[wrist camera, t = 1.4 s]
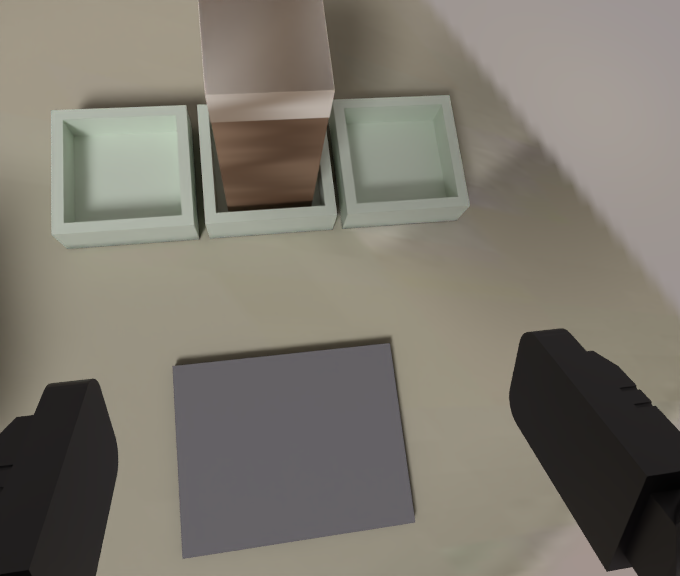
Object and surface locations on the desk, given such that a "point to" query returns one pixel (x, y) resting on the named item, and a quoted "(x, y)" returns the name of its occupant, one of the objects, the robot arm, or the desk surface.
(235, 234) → the tray
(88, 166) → the tray
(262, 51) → the brown wooden block
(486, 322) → the desk surface
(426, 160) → the tray
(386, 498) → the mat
